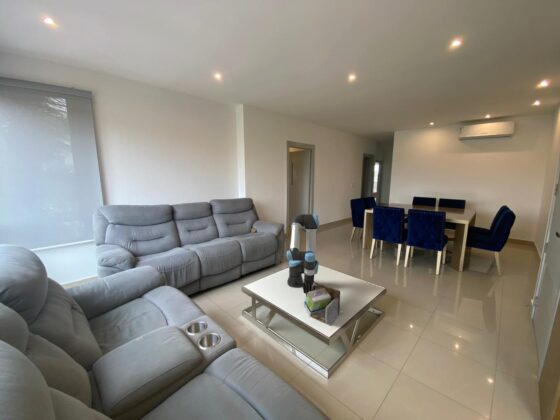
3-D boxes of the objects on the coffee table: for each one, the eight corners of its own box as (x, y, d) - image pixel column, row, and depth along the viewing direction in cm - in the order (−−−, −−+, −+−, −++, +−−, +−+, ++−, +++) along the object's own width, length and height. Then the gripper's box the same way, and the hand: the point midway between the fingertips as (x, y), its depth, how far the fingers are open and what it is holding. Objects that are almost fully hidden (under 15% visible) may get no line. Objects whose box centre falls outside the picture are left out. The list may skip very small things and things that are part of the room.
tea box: (309, 316, 165) (314, 302, 158) (303, 305, 173) (306, 291, 166) (326, 310, 171) (331, 297, 164) (319, 300, 179) (324, 286, 172)
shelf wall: (296, 310, 172) (296, 290, 169) (309, 298, 187) (309, 280, 184) (327, 324, 156) (328, 303, 153) (339, 310, 171) (340, 290, 168)
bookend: (325, 323, 157) (325, 307, 155) (336, 310, 171) (337, 295, 169) (330, 325, 155) (330, 309, 153) (341, 312, 169) (342, 297, 167)
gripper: (299, 272, 172) (298, 301, 176) (314, 277, 164) (312, 308, 168) (304, 269, 178) (303, 297, 182) (319, 274, 170) (317, 303, 174)
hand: (308, 302), depth 175 cm, fingers closed
